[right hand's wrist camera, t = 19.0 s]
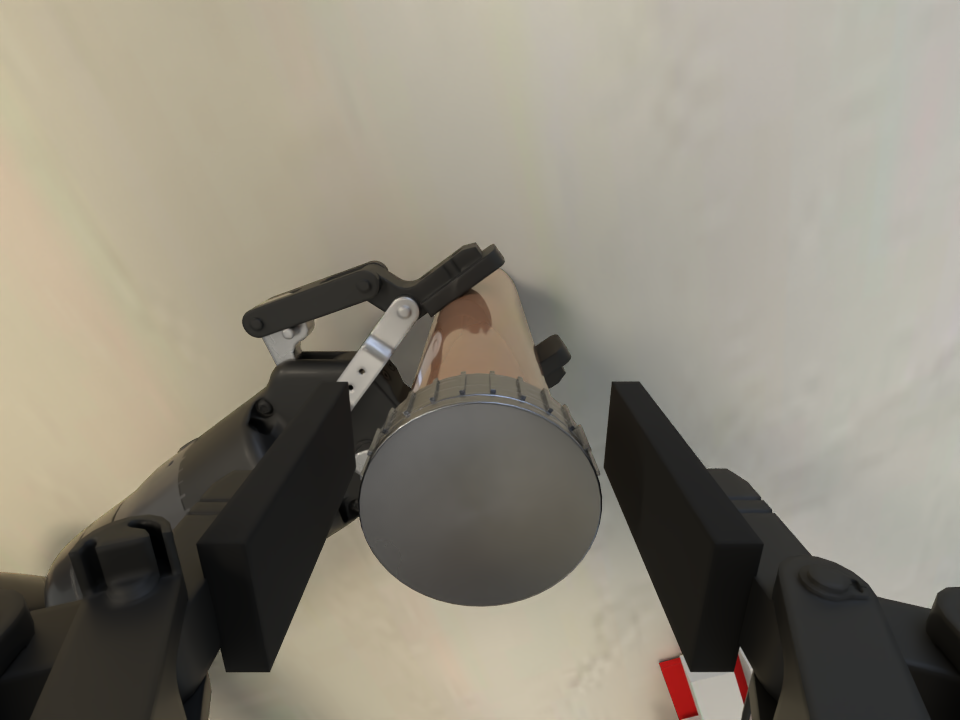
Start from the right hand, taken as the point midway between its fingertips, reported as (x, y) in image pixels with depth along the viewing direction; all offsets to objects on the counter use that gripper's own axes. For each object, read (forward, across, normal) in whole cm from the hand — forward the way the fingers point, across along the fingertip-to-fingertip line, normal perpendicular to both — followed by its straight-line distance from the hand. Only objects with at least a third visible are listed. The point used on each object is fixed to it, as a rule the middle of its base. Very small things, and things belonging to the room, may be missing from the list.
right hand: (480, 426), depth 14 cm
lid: (-4, 0, 0) cm, 4 cm away
